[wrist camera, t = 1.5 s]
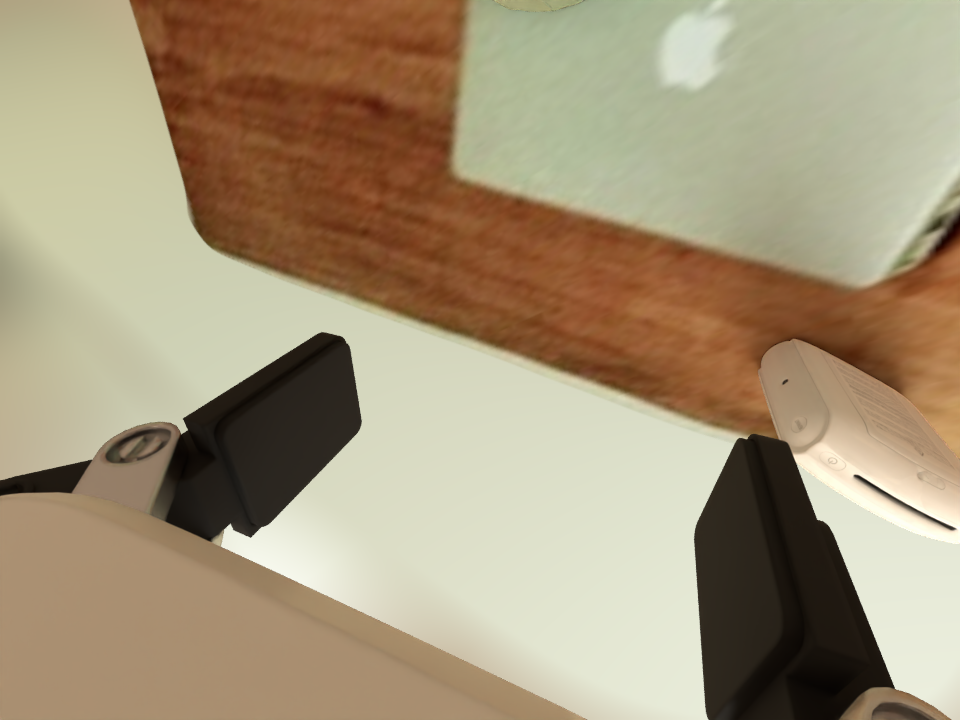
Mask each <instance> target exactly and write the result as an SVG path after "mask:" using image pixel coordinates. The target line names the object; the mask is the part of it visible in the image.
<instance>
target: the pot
mask: <svg viewBox="0 0 960 720" xmlns="http://www.w3.org/2000/svg"><path fill="white" fill-rule="evenodd" d="M493 1H495V2H497V3H499V4H500V5H502V6H504V7H506V8H507V9H510V10H523V11H528V12H545V11H554V10H558V9H563V8H566V7H569V6H572V5H575V4H578V3H580V2H582V1H584V0H493Z"/></svg>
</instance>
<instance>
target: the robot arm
mask: <svg viewBox="0 0 960 720" xmlns="http://www.w3.org/2000/svg"><path fill="white" fill-rule="evenodd" d="M183 420H184V422H185V424H186V427H187V428H188V431H186V432H185V433H183V434H182V435H181V433H180V431H179V429H178V427H177V426H176V425H174V424H172V423H167V422H154V423H147V424H143V425H139V426H136V427H133V428H131V429H128V430H125V431H123V432H122V433H120V434H118V435H116V436H114V437H113V438H111V439H110V440H109V441H107V442H106V443H105V444H104V445H103V446H102V447H101V448H100V449H99V451H98V452H97V454H96V455H95V457H94V458H93V460H88V461H84V462H80V463H75V464H70V465H66V466H61V467H56V468H52V469H47V470H43V471H39V472H34V473H29V474H25V475H20V476H15V477H12V478H8V479H5V480H0V720H587V719H585V718H582V717H580V716H579V715H576V714H575V713H572V712H571V711H568V710H567V709H565V708H562V707H560V706H558V705H556V704H554V703H552V702H550V701H548V700H546V699H544V698H541V697H539V696H537V695H535V694H533V693H531V692H529V691H527V690H525V689H522V688H520V687H518V686H516V685H514V684H512V683H510V682H508V681H506V680H504V679H502V678H499V677H497V676H495V675H493V674H491V673H489V672H486V671H484V670H482V669H480V668H478V667H476V666H474V665H472V664H470V663H468V662H466V661H464V660H462V659H459V658H457V657H455V656H453V655H451V654H449V653H446V652H445V651H442V650H441V649H438V648H436V647H434V646H432V645H430V644H428V643H426V642H423V641H421V640H419V639H417V638H415V637H413V636H411V635H409V634H407V633H405V632H402V631H400V630H398V629H396V628H394V627H392V626H390V625H388V624H385V623H383V622H381V621H379V620H377V619H375V618H372V617H370V616H368V615H366V614H364V613H362V612H360V611H357V610H356V609H353V608H351V607H349V606H347V605H345V604H343V603H341V602H339V601H336V600H334V599H332V598H330V597H328V596H326V595H324V594H321V593H319V592H317V591H315V590H313V589H311V588H309V587H306V586H304V585H302V584H300V583H298V582H295V581H294V580H291V579H289V578H287V577H285V576H283V575H281V574H279V573H276V572H274V571H272V570H270V569H268V568H266V567H263V566H261V565H259V564H257V563H255V562H253V561H250V560H248V559H246V558H244V557H242V556H240V555H237V554H235V553H233V552H231V551H229V550H226V549H224V548H222V547H221V543H222V538H223V534H224V529H225V528H226V527H227V526H228V525H229V524H230V523H231V525H232V527H233V530H235V531H237V532H239V533H242V534H244V535H246V536H248V537H250V538H251V537H252V536H253V535H254V534H255V533H256V532H257V531H258V530H259V529H260V528H261V527H264V526H266V525H268V524H269V523H271V522H272V521H273V520H274V519H275V518H276V517H277V515H278V514H279V513H280V512H281V511H282V510H283V509H284V508H285V507H286V506H287V505H288V504H289V503H290V502H291V501H292V500H293V499H294V498H295V497H296V496H297V495H298V494H299V493H300V492H301V491H302V490H303V489H304V488H305V487H306V486H307V485H308V484H309V483H310V481H311V480H312V479H313V478H314V477H315V476H316V475H317V474H318V473H319V472H320V471H321V470H322V469H323V468H324V467H325V466H326V465H327V464H328V463H329V462H330V461H331V460H332V459H333V458H334V457H335V456H336V455H337V454H338V453H339V452H340V451H341V449H342V448H343V447H344V446H345V445H346V444H347V443H348V442H349V441H350V440H351V439H352V438H353V437H354V436H355V435H356V434H357V433H358V431H359V429H360V427H361V422H362V420H361V414H360V408H359V401H358V395H357V389H356V383H355V376H354V370H353V364H352V358H351V351H350V347H349V345H348V344H347V343H346V341H345V339H344V338H343V337H341V336H337V335H333V334H329V333H324V332H321V333H319V334H317V335H315V336H314V337H312V338H310V339H309V340H307V341H306V342H304V343H302V344H301V345H299V346H298V347H296V348H294V349H293V350H291V351H290V352H288V353H286V354H285V355H283V356H282V357H280V358H279V359H277V360H275V361H274V362H272V363H271V364H269V365H267V366H266V367H264V368H263V369H261V370H259V371H258V372H256V373H255V374H253V375H251V376H250V377H249V378H247V379H245V380H244V381H242V382H240V383H239V384H237V385H236V386H234V387H232V388H231V389H229V390H228V391H226V392H225V393H223V394H221V395H220V396H218V397H217V398H215V399H213V400H212V401H210V402H209V403H207V404H205V405H204V406H202V407H201V408H199V409H198V410H196V411H195V412H193V413H191V414H189V415H188V416H186V417H185V418H183ZM694 543H695V557H696V573H697V588H698V603H699V616H700V617H699V618H700V633H701V648H702V663H703V677H704V691H705V692H704V693H705V707H706V714H707V717H708V719H709V720H951V719H950V718H948V717H947V716H946V715H944V714H943V713H942V712H940V711H938V709H936V708H935V707H934V706H932V705H930V704H928V703H926V702H924V701H923V700H920V699H919V698H917V697H915V696H913V695H911V694H909V693H905V692H903V691H899V690H896V689H895V687H894V685H893V682H892V680H891V677H890V675H889V672H888V670H887V667H886V665H885V662H884V660H883V657H882V655H881V652H880V650H879V647H878V645H877V642H876V640H875V637H874V635H873V632H872V630H871V627H870V625H869V622H868V620H867V617H866V615H865V613H864V610H863V607H862V605H861V603H860V600H859V597H858V595H857V592H856V590H855V587H854V585H853V582H852V580H851V578H850V575H849V572H848V570H847V568H846V565H845V562H844V560H843V557H842V555H841V552H840V550H839V547H838V545H837V542H836V540H835V537H834V535H833V533H832V531H831V529H830V527H829V526H828V525H827V524H826V523H824V522H823V521H820V520H817V518H816V515H815V513H814V510H813V508H812V505H811V502H810V499H809V497H808V494H807V491H806V489H805V486H804V483H803V481H802V478H801V475H800V473H799V470H798V467H797V464H796V462H795V459H794V456H793V454H792V451H791V448H790V446H789V444H788V443H787V442H786V441H783V440H778V439H774V438H770V437H766V436H761V435H757V434H751V435H750V436H749V437H748V439H743V438H739V439H738V440H737V441H736V443H735V444H734V447H733V449H732V451H731V453H730V455H729V457H728V459H727V461H726V463H725V466H724V468H723V470H722V472H721V474H720V476H719V478H718V480H717V482H716V484H715V486H714V488H713V491H712V493H711V495H710V497H709V499H708V501H707V503H706V505H705V507H704V509H703V512H702V514H701V516H700V518H699V520H698V522H697V525H696V528H695V536H694Z"/></svg>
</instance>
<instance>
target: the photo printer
mask: <svg viewBox="0 0 960 720" xmlns="http://www.w3.org/2000/svg"><path fill="white" fill-rule="evenodd" d="M758 376H759V379H760V383H761V386H762V389H763V392H764V395H765V398H766V401H767V405H768V408H769V411H770V414H771V417H772V420H773V423H774V426H775V429H776V432H777V435H778V438H779V440H783V441H786V442H787V443H788V444H789V446H790V448H791V451H792V454H793V456H794V459H795V461H796V462H797V463H798V464H799V465H800V466H801V467H803V468H804V469H805V470H807V471H808V472H809V473H810V474H812V475H813V476H814V477H816V478H817V479H819V480H820V481H822V482H823V483H825V484H826V485H828V486H829V487H830V488H832V489H834V490H835V491H837V492H838V493H840V494H842V495H844V496H845V497H846V498H848V499H850V500H851V501H853V502H855V503H857V504H858V505H860V506H861V507H863V508H865V509H867V510H869V511H870V512H872V513H874V514H876V515H878V516H880V517H881V518H883V519H885V520H887V521H889V522H891V523H894V524H896V525H898V526H900V527H902V528H905V529H907V530H909V531H911V532H914V533H917V534H919V535H922V536H925V537H929V538H932V539H936V540H940V541H945V542H950V543H960V459H959V458H958V457H957V456H956V455H955V453H954V452H953V451H952V450H951V449H950V447H949V446H948V445H947V444H946V443H945V441H944V440H943V439H942V438H941V437H940V435H939V434H938V433H937V432H936V431H935V429H934V428H933V427H932V426H931V425H930V423H929V422H928V421H927V420H926V419H925V417H924V416H923V415H922V414H921V412H920V411H919V410H918V409H917V408H916V407H915V406H914V405H913V404H912V403H911V402H910V401H909V400H908V399H907V398H905V397H904V396H903V395H902V394H900V393H899V392H897V391H896V390H894V389H892V388H891V387H889V386H887V385H886V384H884V383H883V382H881V381H879V380H877V379H875V378H873V377H872V376H870V375H868V374H866V373H864V372H863V371H861V370H859V369H857V368H855V367H854V366H852V365H850V364H848V363H846V362H844V361H842V360H841V359H839V358H837V357H835V356H833V355H831V354H829V353H827V352H825V351H823V350H821V349H819V348H817V347H815V346H813V345H811V344H809V343H806V342H804V341H801V340H798V339H792V340H791V341H784V342H782V343H779V344H777V345H775V346H773V347H772V348H770V349H769V350H768V351H767V352H766V353H765V354H764V356H763V358H762V361H761V368H760V369H759V370H758Z"/></svg>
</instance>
